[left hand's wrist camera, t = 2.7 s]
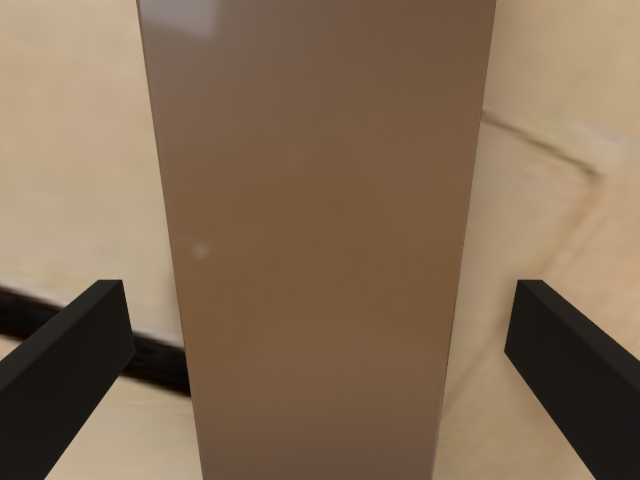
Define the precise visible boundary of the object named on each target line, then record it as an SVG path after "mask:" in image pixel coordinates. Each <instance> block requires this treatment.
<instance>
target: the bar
mask: <svg viewBox="0 0 640 480" xmlns="http://www.w3.org/2000/svg"><path fill="white" fill-rule="evenodd" d="M136 3H137V10H138V17H139V24H140V32H141V39H142V46H143V53H144V60H145V67H146V75H147V82H148V89H149V96H150V103H151V110H152V117H153V125H154V132H155V139H156V146H157V153H158V160H159V168H160V175H161V182H162V189H163V196H164V203H165V211H166V218H167V225H168V232H169V239H170V246H171V253H172V261H173V268H174V275H175V282H176V289H177V296H178V304H179V311H180V318H181V325H182V332H183V339H184V347H185V354H186V361H187V368H188V375H189V382H190V389H191V397H192V404H193V411H194V418H195V425H196V432H197V440H198V447H199V454H200V461H201V468H202V475H203V480H432V477H433V469H434V462H435V454H436V447H437V439H438V432H439V424H440V417H441V409H442V402H443V394H444V387H445V380H446V372H447V365H448V357H449V350H450V342H451V335H452V327H453V320H454V312H455V305H456V297H457V290H458V282H459V275H460V267H461V260H462V253H463V245H464V238H465V230H466V223H467V215H468V208H469V200H470V193H471V185H472V178H473V170H474V163H475V155H476V148H477V140H478V133H479V126H480V118H481V111H482V103H483V96H484V88H485V81H486V73H487V66H488V58H489V51H490V43H491V36H492V28H493V21H494V13H495V6H496V0H136Z"/></svg>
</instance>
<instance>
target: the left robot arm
mask: <svg viewBox="0 0 640 480" xmlns="http://www.w3.org/2000/svg"><path fill="white" fill-rule="evenodd" d="M135 352H136V350H135V345H134V339H133V334H132V329H131V324H130V318H129V313H128V308H127V303H126V297H125V292H124V287H123V282H122V280H97V281H96V282H95V283H94V284H93V285H91V286H90V287H89V288H88V289H87V290H85V291H84V292H83V293H82V294H81V295H79V296H78V297H77V298H76V299H75V300H73V301H72V302H71V303H70V304H69V305H67V306H66V307H65V308H64V309H63V310H61V311H60V312H59V313H58V314H57V315H55V316H54V317H53V318H52V319H50V320H49V321H48V322H47V323H46V324H44V325H43V326H42V327H41V328H40V329H38V330H37V331H36V332H35V333H34V334H32V335H31V336H30V337H29V338H28V339H26V340H25V341H24V342H23V343H22V344H20V345H19V346H18V347H17V348H16V349H14V350H13V351H12V352H11V353H10V354H8V355H7V356H6V357H5V358H4V359H2V360H1V361H0V480H44V479H45V478H46V476H47V475H48V474H49V472H50V471H51V469H52V468H53V467H54V465H55V464H56V462H57V461H58V460H59V458H60V457H61V455H62V454H63V453H64V451H65V450H66V448H67V447H68V446H69V444H70V443H71V441H72V440H73V439H74V437H75V436H76V435H77V433H78V432H79V430H80V429H81V428H82V426H83V425H84V423H85V422H86V421H87V419H88V418H89V416H90V415H91V414H92V412H93V411H94V409H95V408H96V407H97V405H98V404H99V403H100V401H101V400H102V398H103V397H104V396H105V394H106V393H107V391H108V390H109V389H110V387H111V386H112V384H113V383H114V382H115V380H116V379H117V377H118V376H119V375H120V373H121V372H122V370H123V369H124V368H125V366H126V365H127V364H128V362H129V361H130V359H131V358H132V357H133V355H134V354H135ZM504 352H505V354H506V355H507V357H508V358H509V359H510V361H511V362H512V364H513V365H514V366H515V368H516V369H517V371H518V372H519V373H520V375H521V376H522V377H523V379H524V380H525V382H526V383H527V384H528V386H529V387H530V389H531V390H532V391H533V393H534V394H535V396H536V397H537V398H538V400H539V401H540V403H541V404H542V405H543V407H544V408H545V409H546V411H547V412H548V414H549V415H550V416H551V418H552V419H553V421H554V422H555V423H556V425H557V426H558V428H559V429H560V430H561V432H562V433H563V435H564V436H565V437H566V439H567V440H568V442H569V443H570V444H571V446H572V447H573V448H574V450H575V451H576V453H577V454H578V455H579V457H580V458H581V460H582V461H583V462H584V464H585V465H586V467H587V468H588V469H589V471H590V472H591V474H592V475H593V476H594V478H595V479H596V480H640V361H639V360H638V359H636V358H635V357H634V356H633V355H632V354H630V353H629V352H628V351H627V350H626V349H624V348H623V347H622V346H621V345H620V344H618V343H617V342H616V341H615V340H614V339H612V338H611V337H610V336H609V335H608V334H606V333H605V332H604V331H603V330H602V329H600V328H599V327H598V326H597V325H596V324H594V323H593V322H592V321H591V320H589V319H588V318H587V317H586V316H585V315H583V314H582V313H581V312H580V311H579V310H577V309H576V308H575V307H574V306H573V305H571V304H570V303H569V302H568V301H567V300H565V299H564V298H563V297H562V296H561V295H559V294H558V293H557V292H556V291H555V290H553V289H552V288H551V287H550V286H549V285H547V284H546V283H545V282H544V281H543V280H518V282H517V287H516V292H515V297H514V303H513V308H512V313H511V318H510V324H509V329H508V334H507V339H506V344H505V350H504Z"/></svg>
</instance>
